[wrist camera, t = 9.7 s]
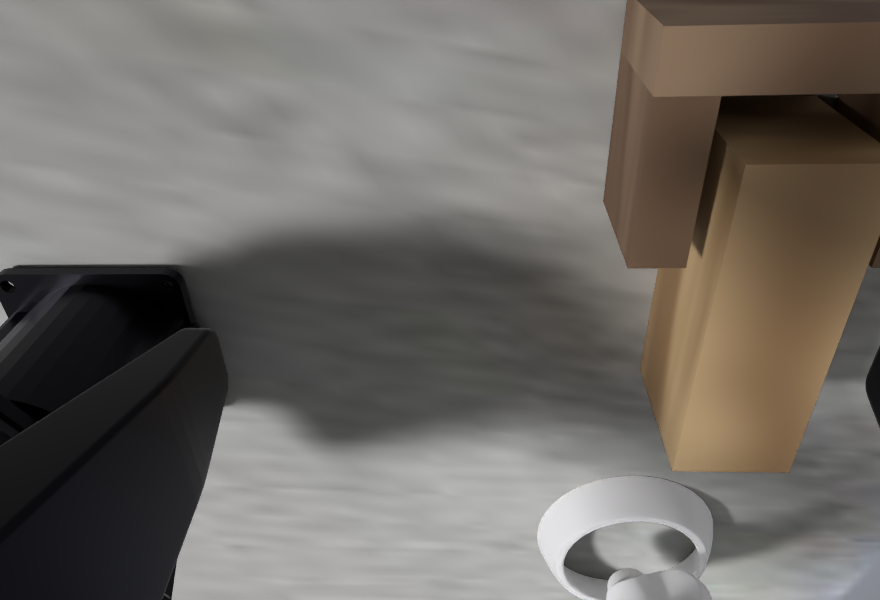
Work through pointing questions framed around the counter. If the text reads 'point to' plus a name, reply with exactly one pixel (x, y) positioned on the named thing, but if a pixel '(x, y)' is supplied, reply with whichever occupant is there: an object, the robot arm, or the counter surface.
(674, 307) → the wooden block
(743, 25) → the slot block
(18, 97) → the counter surface
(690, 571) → the vr controller
